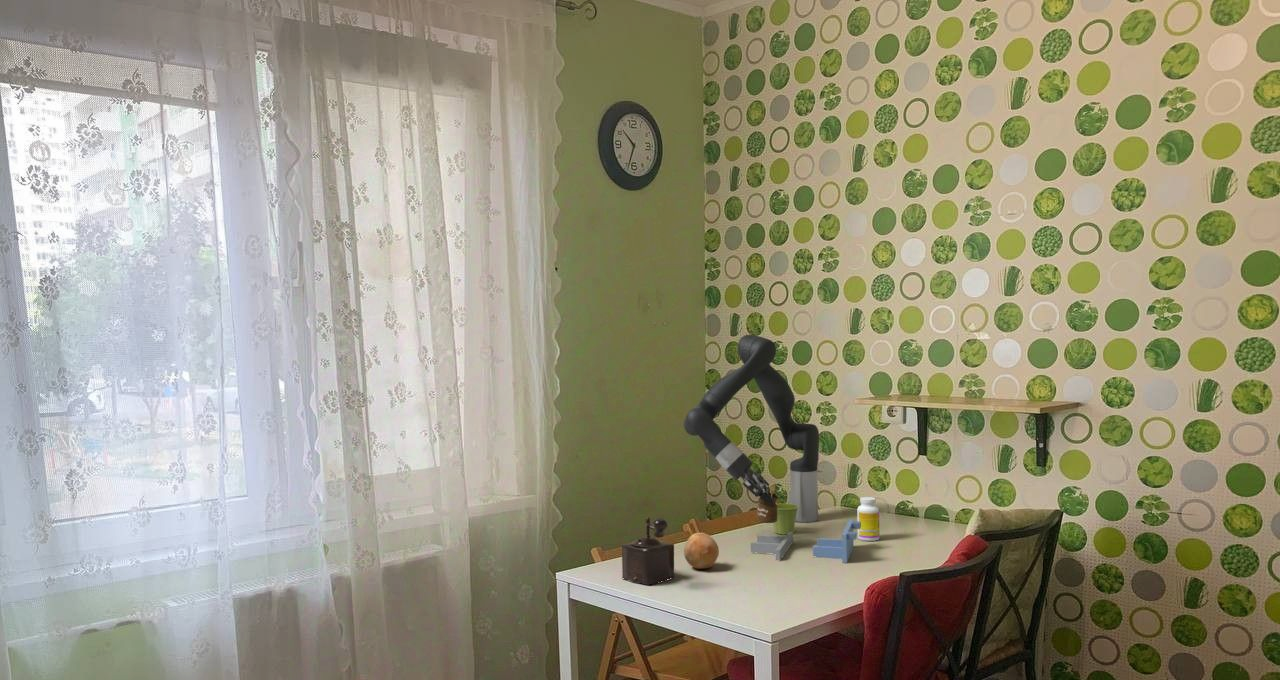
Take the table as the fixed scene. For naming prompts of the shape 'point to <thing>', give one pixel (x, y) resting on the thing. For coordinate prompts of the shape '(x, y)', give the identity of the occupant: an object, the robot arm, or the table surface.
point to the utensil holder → (767, 509)
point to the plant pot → (785, 518)
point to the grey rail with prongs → (772, 544)
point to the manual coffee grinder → (649, 556)
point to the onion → (701, 551)
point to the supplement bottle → (868, 519)
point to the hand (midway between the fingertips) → (773, 501)
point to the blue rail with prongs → (838, 544)
